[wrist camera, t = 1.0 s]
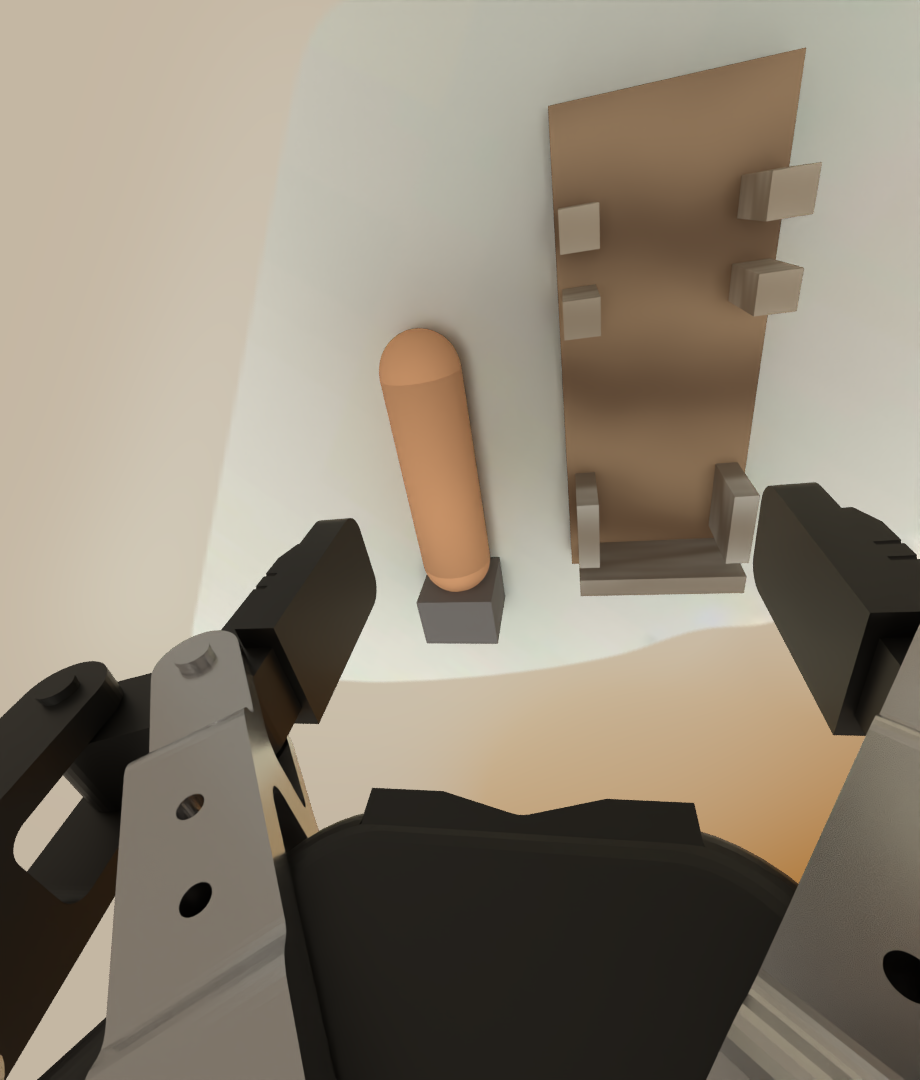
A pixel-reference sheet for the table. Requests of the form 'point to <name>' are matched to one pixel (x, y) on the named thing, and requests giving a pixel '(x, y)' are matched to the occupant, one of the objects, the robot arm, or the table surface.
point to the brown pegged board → (671, 314)
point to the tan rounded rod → (442, 488)
